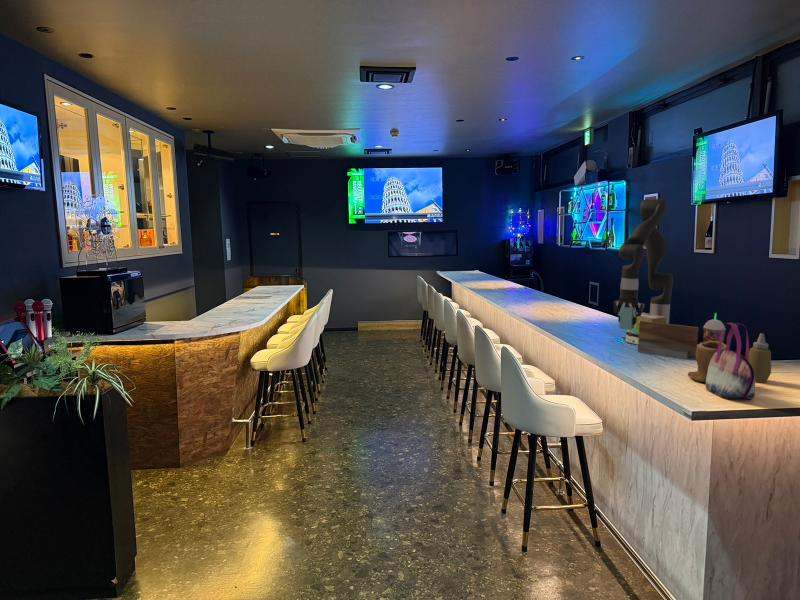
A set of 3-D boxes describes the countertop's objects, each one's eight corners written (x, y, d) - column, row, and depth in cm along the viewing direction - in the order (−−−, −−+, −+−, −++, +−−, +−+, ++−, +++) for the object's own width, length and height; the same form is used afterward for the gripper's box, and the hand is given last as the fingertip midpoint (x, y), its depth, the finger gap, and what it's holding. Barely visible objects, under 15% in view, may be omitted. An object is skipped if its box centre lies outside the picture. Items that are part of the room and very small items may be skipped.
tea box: (624, 342, 261) (626, 312, 259) (639, 340, 265) (641, 311, 263) (650, 348, 248) (652, 317, 245) (665, 346, 252) (667, 316, 250)
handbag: (695, 385, 191) (701, 317, 187) (722, 384, 191) (728, 317, 188) (734, 404, 170) (742, 329, 166) (764, 404, 170) (773, 329, 166)
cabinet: (623, 326, 247) (624, 301, 246) (634, 327, 244) (635, 303, 242) (619, 328, 243) (621, 303, 241) (630, 329, 240) (632, 304, 238)
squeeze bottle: (770, 385, 191) (776, 336, 189) (744, 381, 195) (749, 334, 193) (769, 379, 198) (774, 333, 195) (743, 376, 202) (748, 330, 200)
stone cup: (700, 386, 190) (704, 345, 187) (682, 376, 201) (686, 338, 199) (742, 386, 190) (746, 345, 188) (722, 376, 201) (725, 338, 199)
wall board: (638, 347, 249) (640, 320, 247) (696, 355, 234) (698, 327, 232) (633, 351, 241) (635, 323, 240) (691, 360, 226) (694, 330, 225)
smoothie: (702, 359, 228) (706, 314, 225) (699, 355, 235) (703, 311, 233) (724, 361, 225) (728, 315, 222) (720, 356, 232) (725, 312, 229)
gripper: (648, 288, 239) (645, 324, 242) (615, 285, 248) (613, 321, 251) (643, 290, 234) (641, 327, 236) (610, 287, 242) (608, 323, 245)
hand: (627, 324), depth 243 cm, fingers closed on cabinet, 5 cm apart
